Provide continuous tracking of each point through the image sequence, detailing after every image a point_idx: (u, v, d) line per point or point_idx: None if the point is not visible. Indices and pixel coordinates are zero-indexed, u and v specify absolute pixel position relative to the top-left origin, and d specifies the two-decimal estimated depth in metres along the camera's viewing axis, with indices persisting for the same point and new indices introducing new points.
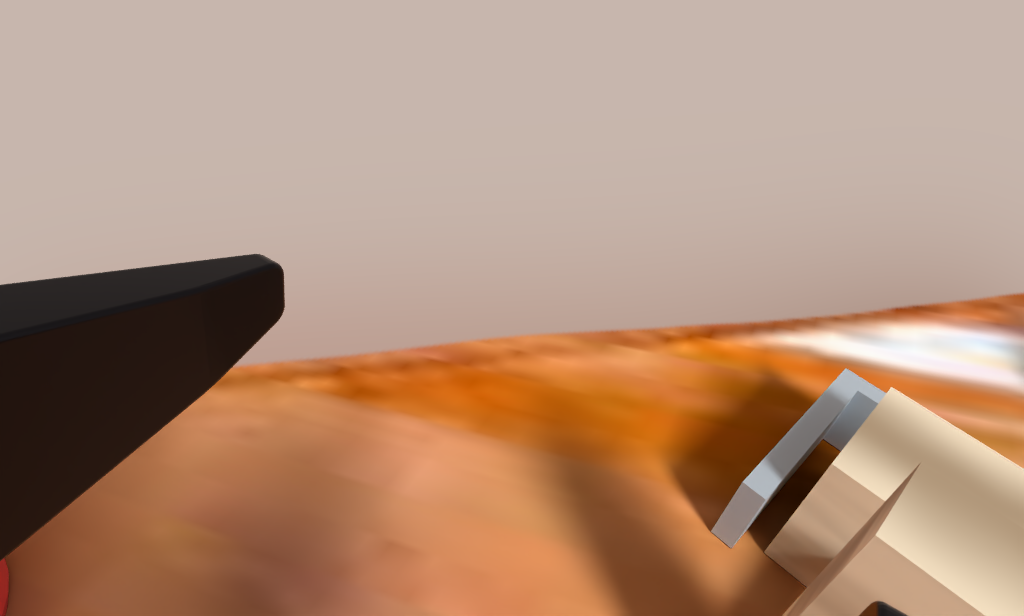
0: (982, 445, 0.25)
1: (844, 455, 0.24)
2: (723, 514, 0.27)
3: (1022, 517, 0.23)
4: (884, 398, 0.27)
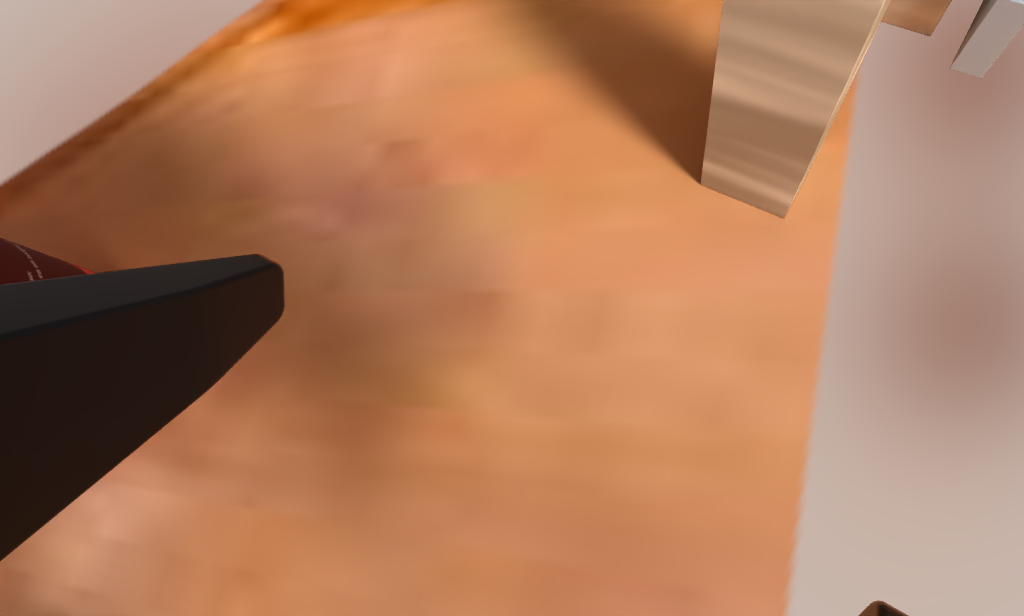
0: None
1: None
2: None
3: None
4: None
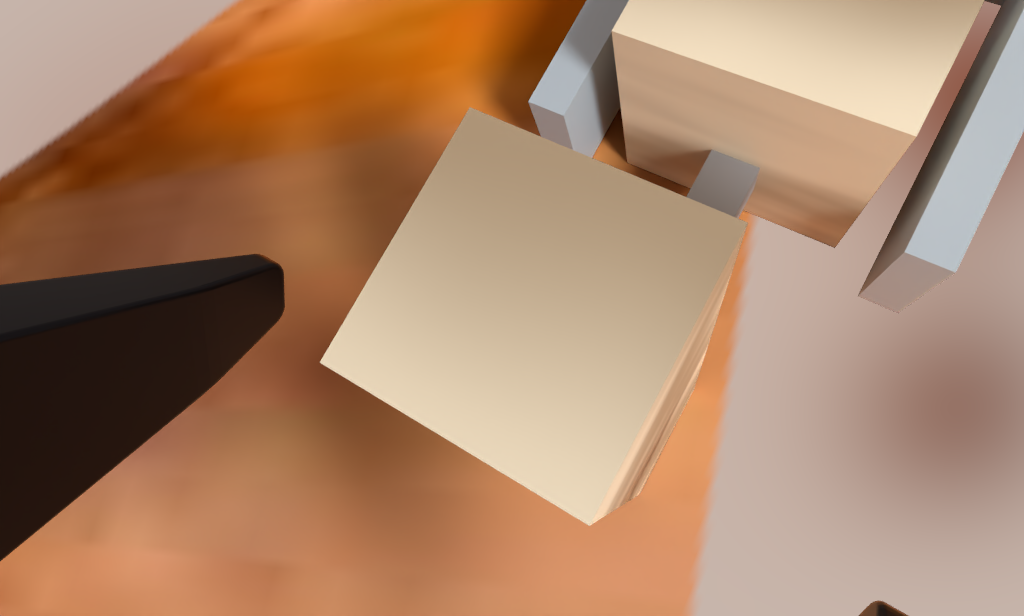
0: None
1: (636, 2, 0.14)
2: None
3: None
4: None
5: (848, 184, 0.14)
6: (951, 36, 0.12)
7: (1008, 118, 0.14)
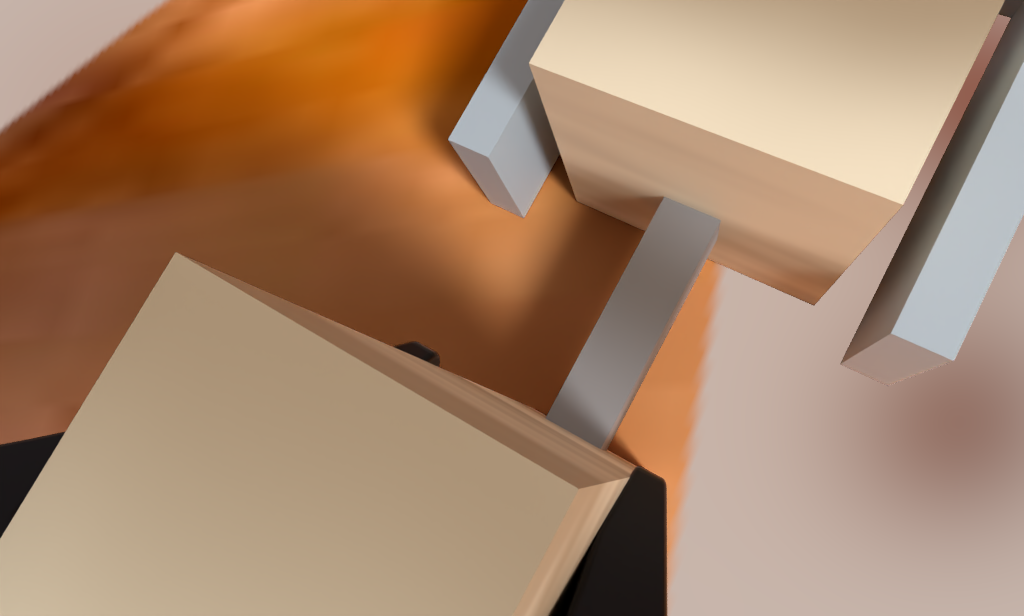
0: None
1: (558, 27, 0.11)
2: (478, 182, 0.16)
3: None
4: None
5: (824, 246, 0.12)
6: (950, 73, 0.09)
7: (1019, 166, 0.11)
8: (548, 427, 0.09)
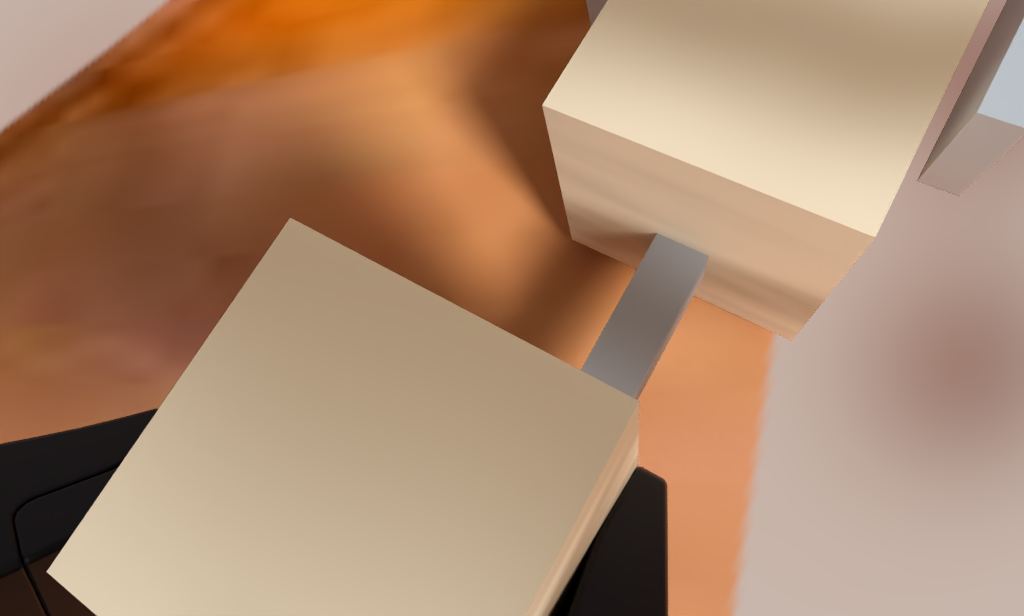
0: None
1: (569, 75, 0.12)
2: None
3: (932, 57, 0.11)
4: None
5: (803, 280, 0.13)
6: (912, 127, 0.11)
7: None
8: None
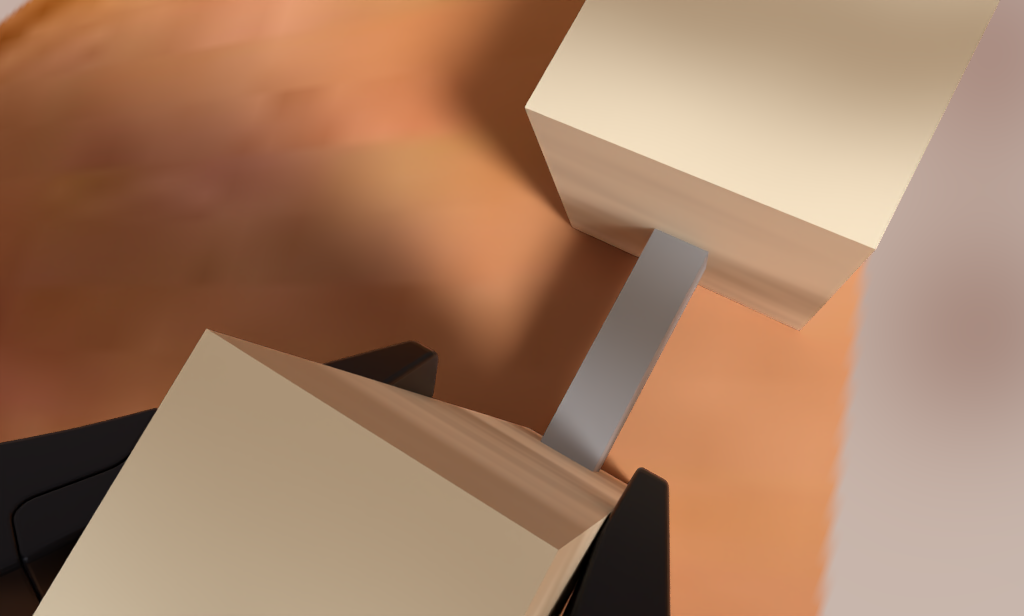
0: None
1: (553, 73, 0.12)
2: None
3: (945, 44, 0.10)
4: None
5: (806, 280, 0.12)
6: (920, 125, 0.10)
7: None
8: (541, 457, 0.10)
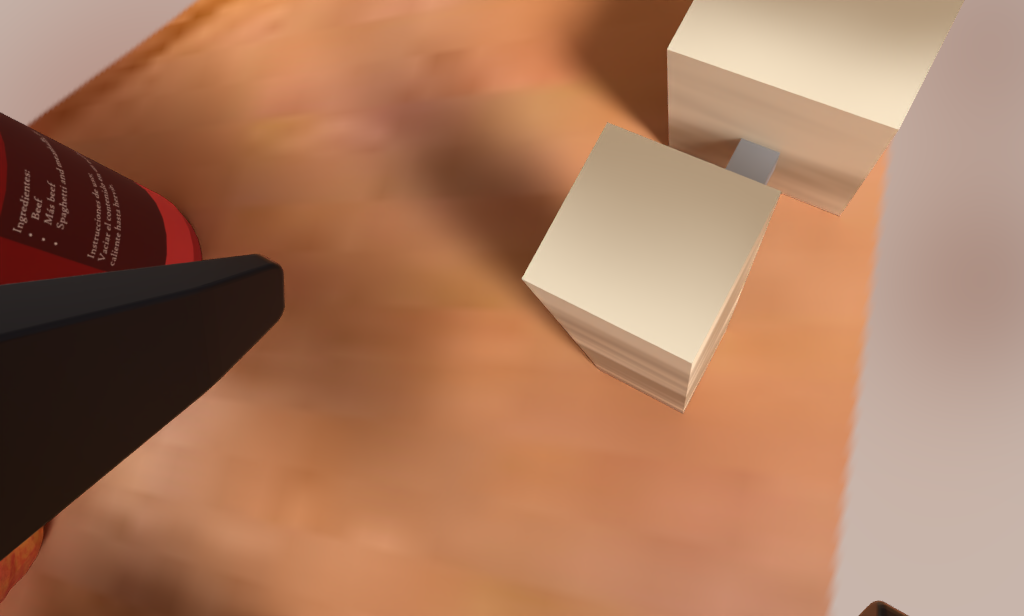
0: None
1: (685, 26, 0.18)
2: None
3: (942, 2, 0.16)
4: None
5: (849, 165, 0.18)
6: (926, 53, 0.16)
7: None
8: None
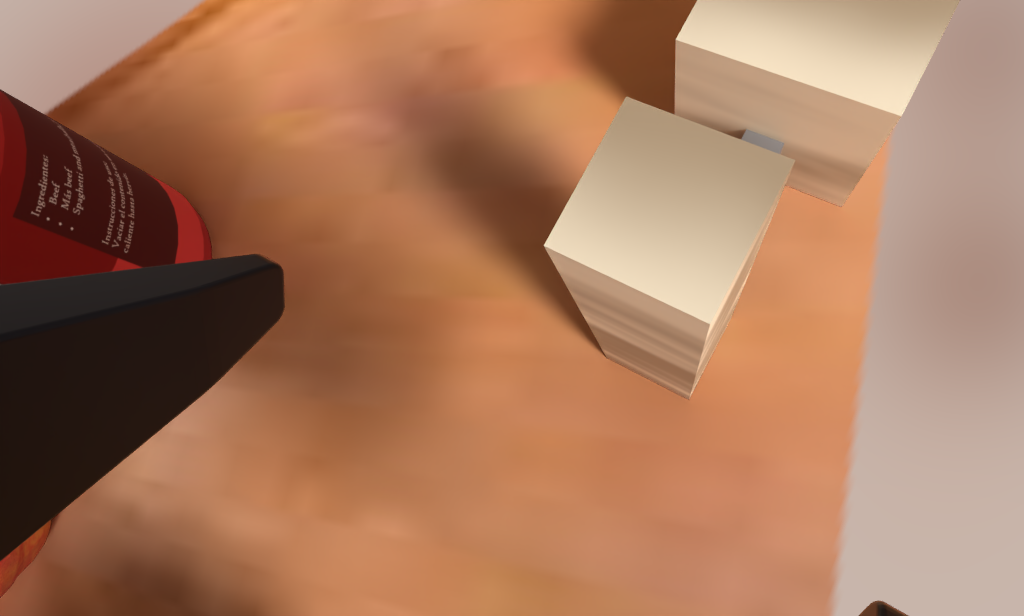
0: None
1: (693, 18, 0.18)
2: None
3: None
4: None
5: (852, 154, 0.19)
6: (927, 43, 0.17)
7: None
8: None
